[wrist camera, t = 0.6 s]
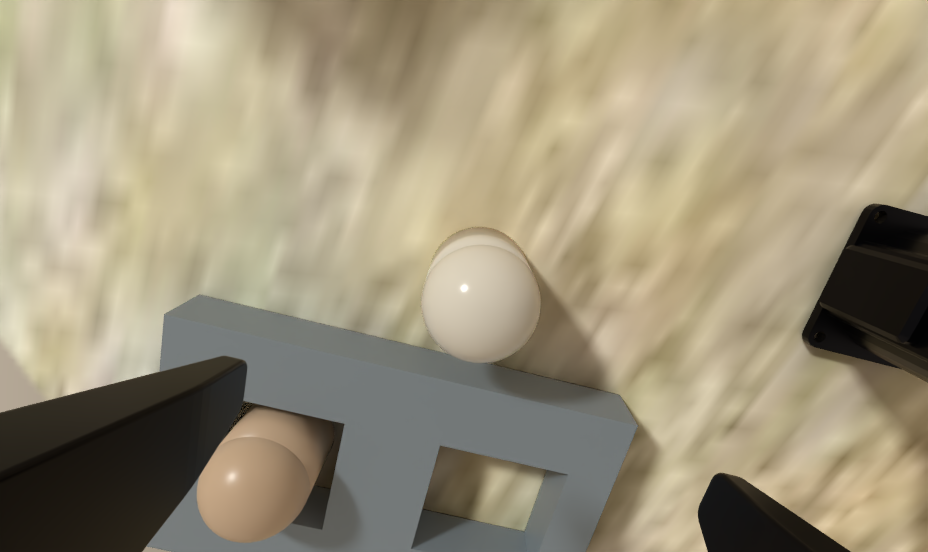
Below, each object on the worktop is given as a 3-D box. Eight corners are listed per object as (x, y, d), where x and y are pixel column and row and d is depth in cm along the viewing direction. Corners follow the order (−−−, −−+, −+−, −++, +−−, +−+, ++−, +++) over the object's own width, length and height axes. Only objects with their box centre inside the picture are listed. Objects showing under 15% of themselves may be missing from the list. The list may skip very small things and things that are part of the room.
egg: (540, 241, 20) (568, 278, 15) (512, 332, 21) (528, 399, 16) (442, 215, 20) (431, 244, 14) (419, 309, 21) (401, 369, 15)
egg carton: (619, 394, 22) (670, 480, 16) (545, 584, 25) (566, 708, 20) (199, 294, 21) (100, 349, 15) (177, 506, 24) (90, 615, 19)
